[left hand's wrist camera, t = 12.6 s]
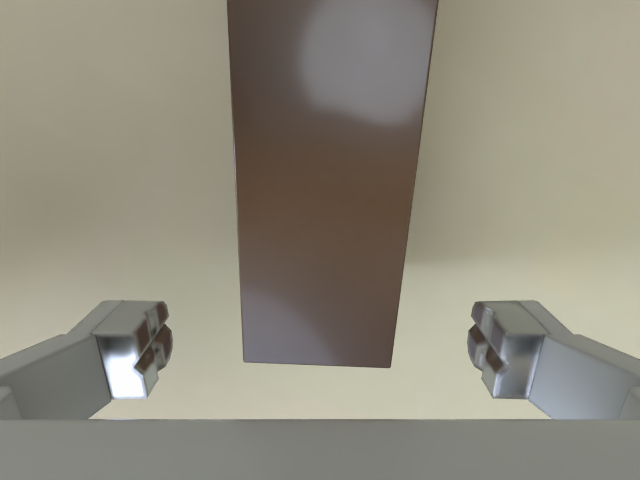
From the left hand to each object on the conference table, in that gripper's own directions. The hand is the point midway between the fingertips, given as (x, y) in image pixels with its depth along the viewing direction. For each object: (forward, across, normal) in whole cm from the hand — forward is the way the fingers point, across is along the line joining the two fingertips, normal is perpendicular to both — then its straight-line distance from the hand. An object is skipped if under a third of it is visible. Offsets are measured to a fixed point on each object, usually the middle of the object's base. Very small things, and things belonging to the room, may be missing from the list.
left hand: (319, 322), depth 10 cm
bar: (+13, 0, +7) cm, 15 cm away
